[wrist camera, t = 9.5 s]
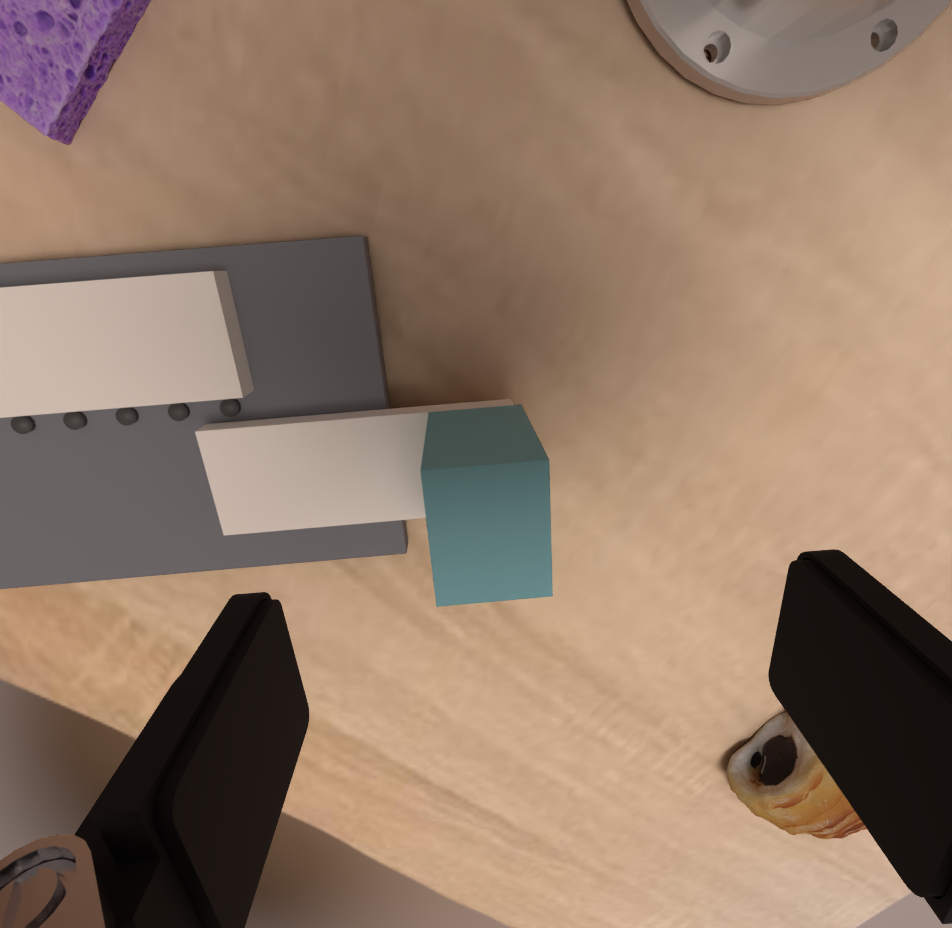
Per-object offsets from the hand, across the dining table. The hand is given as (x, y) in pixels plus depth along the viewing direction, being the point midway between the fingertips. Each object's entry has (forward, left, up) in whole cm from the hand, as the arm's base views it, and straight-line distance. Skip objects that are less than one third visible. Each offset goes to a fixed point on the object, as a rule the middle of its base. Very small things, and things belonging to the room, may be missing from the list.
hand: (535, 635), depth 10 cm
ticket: (+15, -4, -13) cm, 20 cm away
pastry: (-17, +22, -14) cm, 31 cm away
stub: (+5, +1, -12) cm, 13 cm away
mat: (+13, -1, -14) cm, 19 cm away
